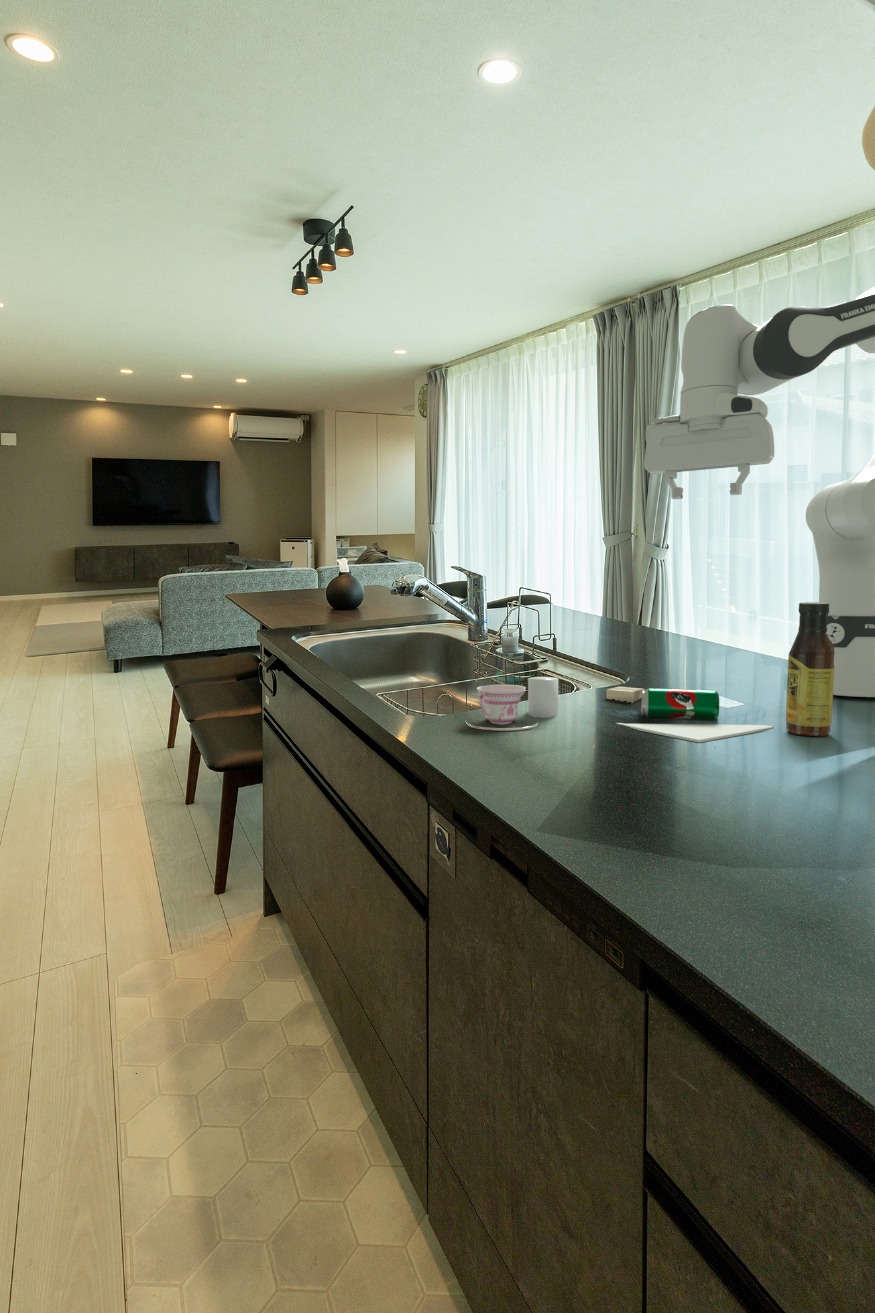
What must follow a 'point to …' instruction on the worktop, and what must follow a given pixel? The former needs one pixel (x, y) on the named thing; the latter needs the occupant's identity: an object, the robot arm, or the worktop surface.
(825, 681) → the sauce bottle
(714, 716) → the soda can
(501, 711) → the teacup
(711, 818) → the worktop surface
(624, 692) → the birch block
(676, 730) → the mat
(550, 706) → the grey cylinder
